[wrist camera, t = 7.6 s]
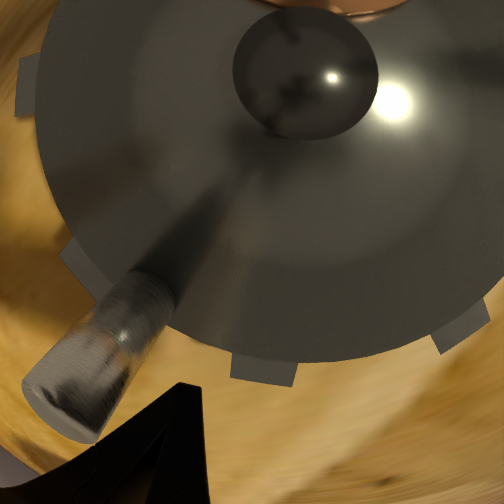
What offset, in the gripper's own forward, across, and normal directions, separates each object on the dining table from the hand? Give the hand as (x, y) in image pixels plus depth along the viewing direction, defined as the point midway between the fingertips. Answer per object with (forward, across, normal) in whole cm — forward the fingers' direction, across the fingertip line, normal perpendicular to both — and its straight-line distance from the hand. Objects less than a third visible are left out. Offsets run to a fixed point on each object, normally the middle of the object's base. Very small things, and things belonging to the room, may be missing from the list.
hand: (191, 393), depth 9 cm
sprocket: (+6, -2, -9) cm, 11 cm away
